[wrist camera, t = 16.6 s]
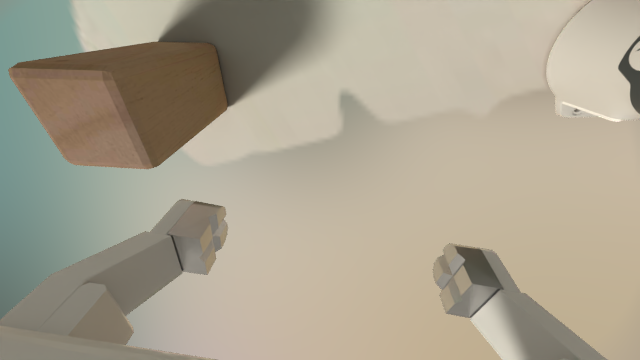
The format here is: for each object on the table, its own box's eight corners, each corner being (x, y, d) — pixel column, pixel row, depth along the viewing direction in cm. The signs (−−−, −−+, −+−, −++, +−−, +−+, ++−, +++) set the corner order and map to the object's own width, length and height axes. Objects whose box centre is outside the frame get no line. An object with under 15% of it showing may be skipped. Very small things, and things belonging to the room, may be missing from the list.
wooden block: (152, 40, 36) (-7, 64, 20) (217, 42, 36) (108, 67, 19) (174, 107, 42) (65, 168, 26) (231, 109, 41) (155, 173, 25)
